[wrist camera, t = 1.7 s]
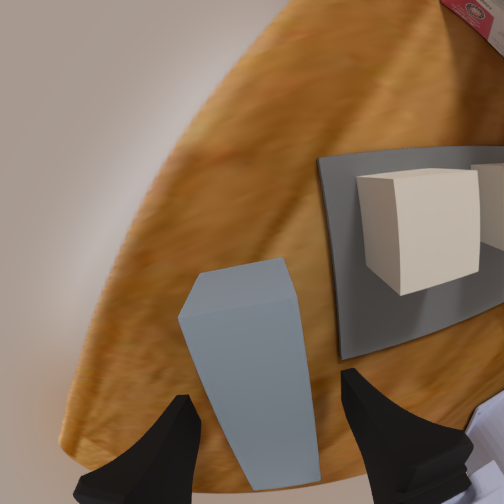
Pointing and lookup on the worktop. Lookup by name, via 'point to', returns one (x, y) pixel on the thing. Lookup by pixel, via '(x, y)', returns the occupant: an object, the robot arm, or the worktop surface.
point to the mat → (371, 285)
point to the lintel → (255, 369)
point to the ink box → (482, 18)
